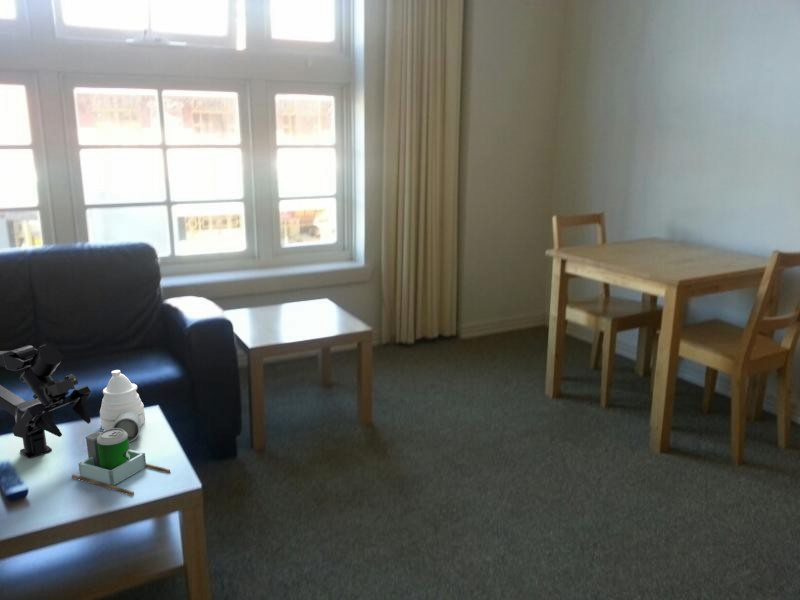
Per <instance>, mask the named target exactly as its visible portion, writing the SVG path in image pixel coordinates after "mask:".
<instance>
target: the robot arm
mask: <svg viewBox="0 0 800 600" xmlns="http://www.w3.org/2000/svg"><path fill="white" fill-rule="evenodd" d="M62 361H63V355H62V353H61V352H60V351H59V350H58V349H55V348H53V347H48V346H47V344H43V345H41V346H40V345H39V346H38V348H35V346H33V345H30V344H29V345H25V346H22V347H20V348H15V349H13V350H0V367H5V369H6V370H9V371H12V372H17V371H20V370H24V369H25V370H24V371H23V372H20V377H19V383H21V384H22V383H26V384H27V385H28V387H29V388H30V390H31V391H32V392H33V396H32V397H33V399H30V400H28V401H26V400H25V399H23V398H22V397H20V396H18V395H17V394H16V393H14V392H12V391H11V390H10V389H7V388H6V387H4V386H3V385H1V384H0V408H1V409H2V410H4V411H6V412H8V413H9V414H10V415H12V416H13V417H14V420H15V424H14V426H13V427H12V429H11V430H12V434H13V435H14V437H17V438H21V439H22V442H23V443H22V444H23V449H20V450H19V453H21V454H22V455H23V456H25V458H27V459H30V458H33V457H37V456H40V455H43V454H45V453H46V454H47V453H49V452H52V451H53V449H52V447H50V446H49V445H47V437H46V432H48V433H51V434H52V435H54V436H57V437H58V438H61V437H62V436H63V434H62V432H61V430H60V428H59V427H58V426H57V424H56V423H55V422H54V419H53V418H54V412H53V411H54V410H57V409H59V408H61V407H64V406H66V405H68V404H69V405H70V406H73V407H72V410H73V411H74V412H75V413H76V414H77V415H78V416H79V417H80V418H81V419H82V421H84V422H85V423H86V424H88V425H89V424H91V417H90V414H89V410H88V405H87V404H88V403H87V402H88V399H89V398H90V395H91V393H93V391H92V389H91V388H90V387H89V386H88V385H82V386H79V387H78V388H76V385H78V384H79V381H78V378H77V377H76V376H75V375H74V373H72V374H69V375H65V376H64V379H63V380H61V381H59V380H58V379H53V378H52V376H51V375H53V373H55V371H56V369H57V367H59V365H60V364H61V362H62ZM71 390H73V391H71ZM69 391H71V394H70V395H68V394H69V393H70V392H69ZM67 395H68V396H67ZM45 431H46V432H45Z"/></svg>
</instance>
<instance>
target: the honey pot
mask: <svg viewBox="0 0 800 600" xmlns="http://www.w3.org/2000/svg"><path fill="white" fill-rule="evenodd" d="M111 375H112V376H111V378H110V379H109V381H108V383H107V386H106V387H105V388H103V390H102V394H103V398H102V399H101V400H102V401H101V404H100V405H101V407H100V410H99V417H100V426H101V429H102V428H103V429H104V430H103V429H102V430H103V431H105V430H108V429H112V427H113V425H114V423H115V420H116V418H117V417H118V416H119V415H120V414H121V413H123V412H127V411H130V412H134V413H136V414H137V415H138V416H139V418H140V421H141V425H140V427H141V426H143V425H144V423H145V422H146V415H145V414H146V413H145V405H144V403H143V402H142V399H141V398H140V394H139V393H138V392H137V390H138V385H137V384H135V383H132V382H131V381H130V379H129V378H128V377H127V376H126V375H125V374H123V373H121V370H120V369H115V370H112V371H111Z"/></svg>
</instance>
